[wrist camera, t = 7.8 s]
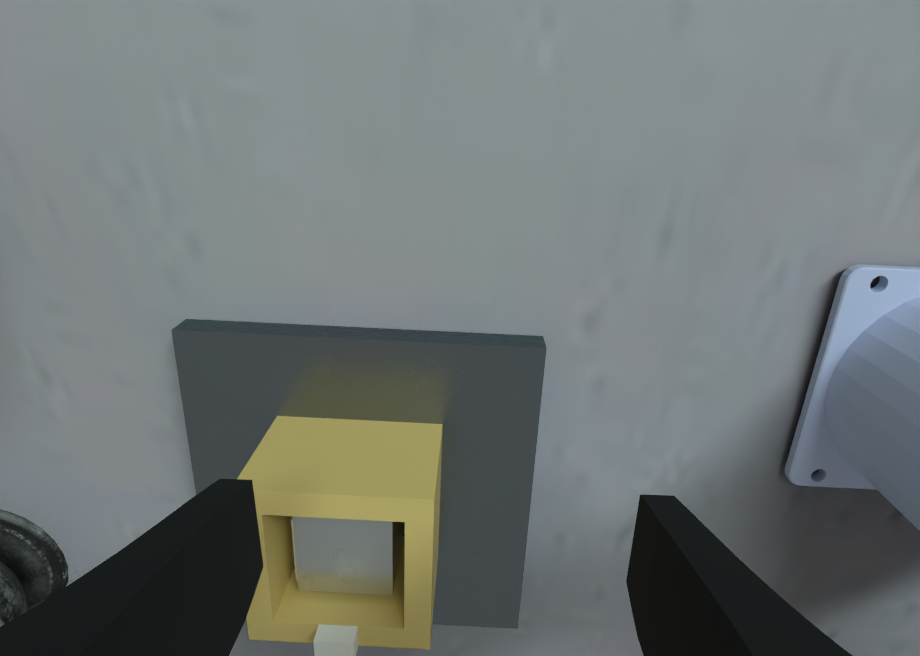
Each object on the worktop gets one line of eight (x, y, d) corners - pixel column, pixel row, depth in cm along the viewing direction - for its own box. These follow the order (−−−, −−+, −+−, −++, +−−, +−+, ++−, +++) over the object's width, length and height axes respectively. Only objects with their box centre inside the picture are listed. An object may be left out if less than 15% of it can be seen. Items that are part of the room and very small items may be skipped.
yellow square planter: (442, 424, 20) (432, 514, 15) (438, 555, 22) (428, 667, 17) (277, 415, 20) (221, 503, 15) (288, 547, 22) (241, 656, 17)
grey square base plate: (542, 336, 19) (558, 392, 16) (515, 607, 24) (522, 702, 20) (186, 319, 20) (117, 370, 16) (224, 591, 24) (177, 682, 20)
